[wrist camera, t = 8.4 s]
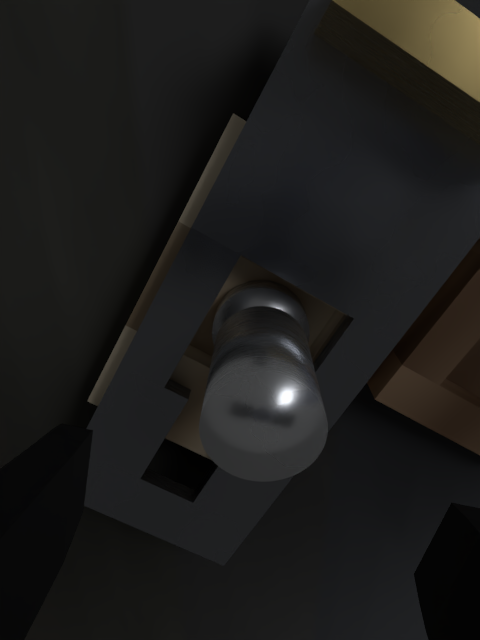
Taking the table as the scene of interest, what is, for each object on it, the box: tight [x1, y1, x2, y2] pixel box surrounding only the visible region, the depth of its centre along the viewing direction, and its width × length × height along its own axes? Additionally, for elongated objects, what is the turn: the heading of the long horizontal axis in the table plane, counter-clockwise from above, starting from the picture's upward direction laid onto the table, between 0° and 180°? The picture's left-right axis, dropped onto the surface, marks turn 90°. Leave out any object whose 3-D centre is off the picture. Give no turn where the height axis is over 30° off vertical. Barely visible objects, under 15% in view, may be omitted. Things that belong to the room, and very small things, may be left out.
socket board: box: [87, 113, 347, 460], centre depth 17 cm, size 9×12×2 cm
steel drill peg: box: [199, 280, 328, 482], centre depth 14 cm, size 4×4×7 cm
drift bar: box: [84, 0, 480, 566], centre depth 15 cm, size 20×8×4 cm, turn 151°
